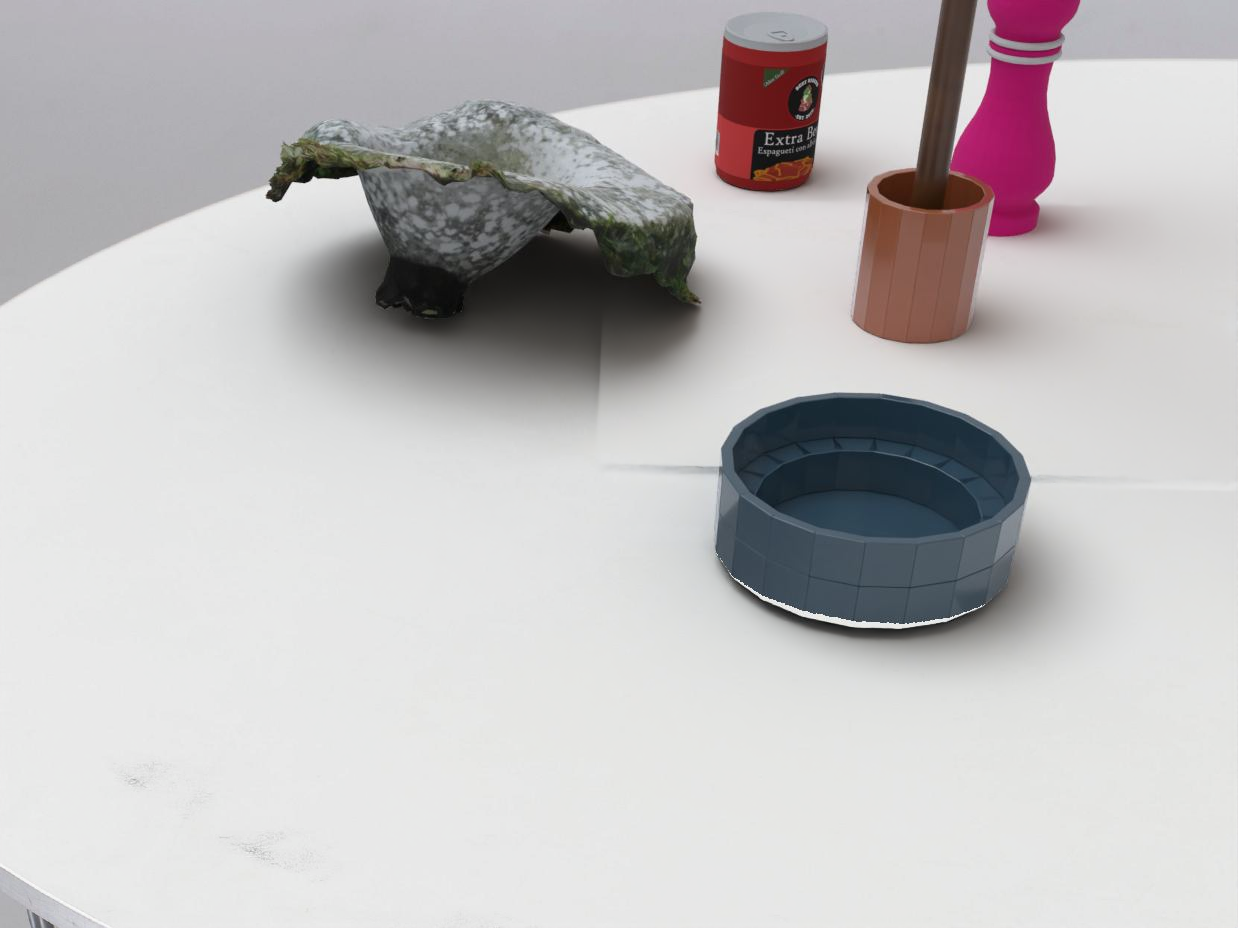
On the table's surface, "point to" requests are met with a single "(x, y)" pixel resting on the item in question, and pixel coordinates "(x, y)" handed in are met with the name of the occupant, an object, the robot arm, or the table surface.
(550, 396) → the table surface
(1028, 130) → the pepper mill
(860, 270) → the crock
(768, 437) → the bowl
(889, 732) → the table surface
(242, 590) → the table surface
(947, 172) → the long wooden stick
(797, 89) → the canned food
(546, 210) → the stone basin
